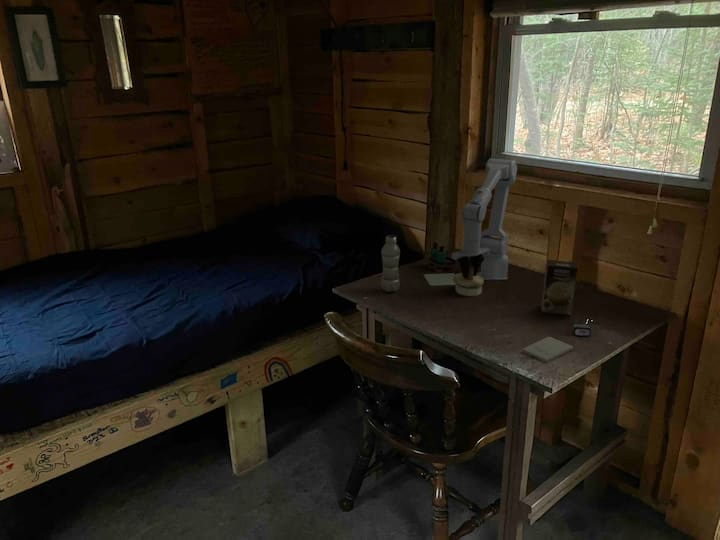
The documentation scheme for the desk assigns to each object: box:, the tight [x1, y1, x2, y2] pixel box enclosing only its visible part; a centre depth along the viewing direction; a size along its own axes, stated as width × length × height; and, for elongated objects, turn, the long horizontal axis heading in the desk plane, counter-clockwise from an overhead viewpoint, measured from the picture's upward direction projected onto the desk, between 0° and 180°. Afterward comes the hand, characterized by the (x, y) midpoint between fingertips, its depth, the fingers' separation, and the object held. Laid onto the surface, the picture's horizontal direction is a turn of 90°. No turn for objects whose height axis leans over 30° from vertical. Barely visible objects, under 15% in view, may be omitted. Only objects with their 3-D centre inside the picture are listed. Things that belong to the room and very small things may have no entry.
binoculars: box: [428, 241, 457, 273], centre depth 220 cm, size 9×11×10 cm
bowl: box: [455, 284, 483, 297], centre depth 197 cm, size 8×8×3 cm
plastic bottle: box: [380, 234, 401, 293], centre depth 196 cm, size 6×7×20 cm
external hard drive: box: [521, 336, 574, 364], centre depth 156 cm, size 2×8×12 cm
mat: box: [422, 272, 456, 287], centre depth 209 cm, size 12×12×1 cm
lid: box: [453, 264, 485, 287], centre depth 195 cm, size 10×10×6 cm
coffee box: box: [540, 259, 578, 316], centre depth 181 cm, size 9×6×16 cm
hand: (469, 276), depth 196 cm, fingers closed on lid, 3 cm apart
